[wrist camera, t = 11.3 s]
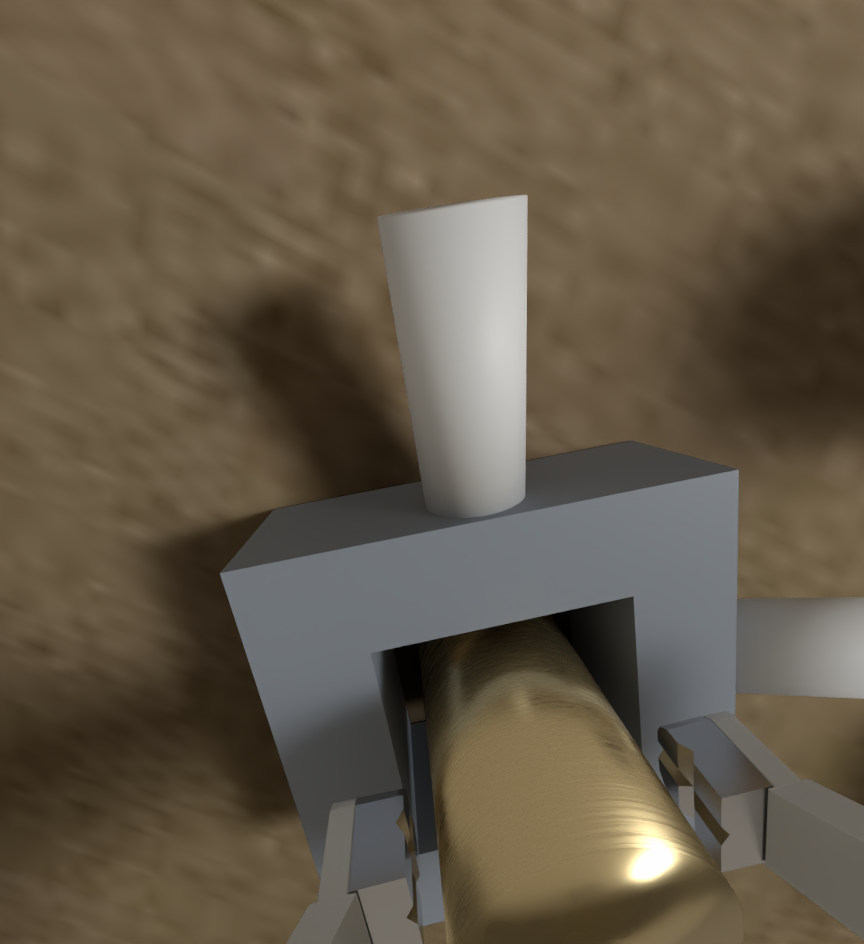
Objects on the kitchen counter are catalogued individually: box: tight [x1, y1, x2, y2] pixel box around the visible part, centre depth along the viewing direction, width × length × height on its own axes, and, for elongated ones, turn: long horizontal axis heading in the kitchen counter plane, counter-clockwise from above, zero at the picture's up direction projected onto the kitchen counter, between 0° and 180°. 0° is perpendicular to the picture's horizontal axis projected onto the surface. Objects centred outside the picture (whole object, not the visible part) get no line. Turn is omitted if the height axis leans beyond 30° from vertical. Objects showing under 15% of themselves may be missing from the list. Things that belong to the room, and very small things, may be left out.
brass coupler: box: [418, 614, 744, 944], centre depth 10 cm, size 4×4×8 cm
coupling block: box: [220, 195, 864, 926], centre depth 10 cm, size 17×17×6 cm
